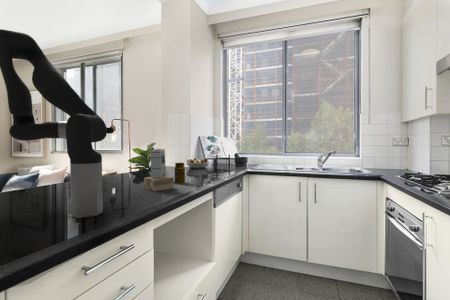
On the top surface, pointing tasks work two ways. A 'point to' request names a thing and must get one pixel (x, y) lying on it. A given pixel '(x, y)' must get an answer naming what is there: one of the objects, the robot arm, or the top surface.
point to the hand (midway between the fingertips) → (113, 130)
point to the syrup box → (158, 163)
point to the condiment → (179, 173)
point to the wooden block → (158, 183)
